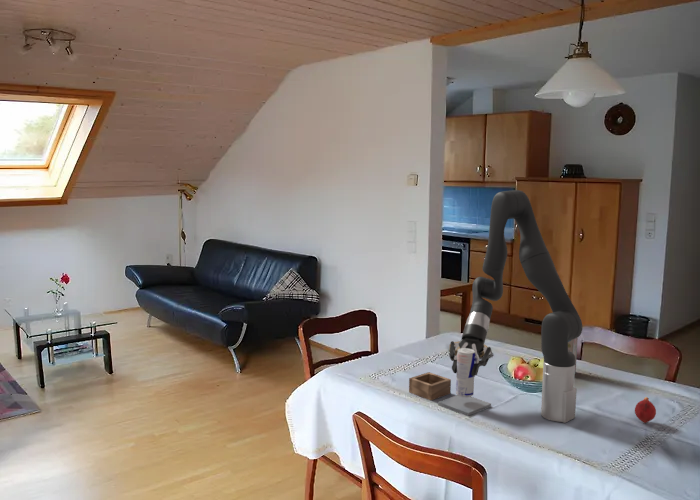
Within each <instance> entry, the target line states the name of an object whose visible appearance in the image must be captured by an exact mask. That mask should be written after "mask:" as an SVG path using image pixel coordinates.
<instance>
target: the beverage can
mask: <svg viewBox="0 0 700 500" xmlns="http://www.w3.org/2000/svg"><path fill="white" fill-rule="evenodd" d="M474 364H475V351H474V350H472V349H468V348H461V349H458V352H457V373H456V381H455V385H456V387H455V394H456V395H458V396H461V397H474V392H475V391H474V387H475V385H474V384H475V383H474V382H475V377H473V376H472V375H471V373H472V369H473V366H474Z"/></svg>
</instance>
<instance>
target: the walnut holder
mask: <svg viewBox="0 0 700 500" xmlns="http://www.w3.org/2000/svg"><path fill="white" fill-rule="evenodd" d="M408 379H409V380H408V393H410V394H412V395H415V396H418V397H420V398H423V399H426V400H428V401H434V400H437V399H439V398H441V397H445V396H447V395H450V394H451V391H452V388H451V387H452V386H451V385H452V380H451V379H450V378H447V377H445V376H441V375H438V374H436V373H433V372H425V373H421V374H418V375H415V376H412V377H409V378H408Z"/></svg>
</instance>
